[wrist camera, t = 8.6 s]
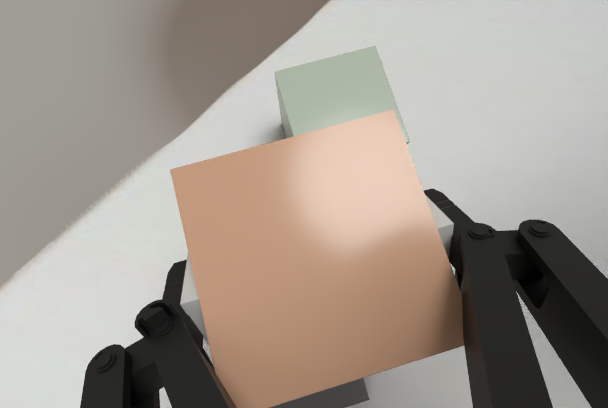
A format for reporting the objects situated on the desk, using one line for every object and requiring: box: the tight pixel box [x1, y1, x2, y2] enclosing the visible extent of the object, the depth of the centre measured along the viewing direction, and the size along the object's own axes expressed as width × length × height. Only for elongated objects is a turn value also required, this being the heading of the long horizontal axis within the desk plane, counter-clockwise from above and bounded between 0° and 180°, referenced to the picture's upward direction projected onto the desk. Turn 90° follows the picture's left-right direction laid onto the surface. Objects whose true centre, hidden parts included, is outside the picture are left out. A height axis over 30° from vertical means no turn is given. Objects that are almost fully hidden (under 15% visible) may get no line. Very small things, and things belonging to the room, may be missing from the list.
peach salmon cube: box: [170, 109, 464, 408], centre depth 16 cm, size 9×9×10 cm
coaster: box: [269, 378, 369, 408], centre depth 31 cm, size 11×10×1 cm
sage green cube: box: [275, 46, 410, 144], centre depth 31 cm, size 9×9×10 cm
